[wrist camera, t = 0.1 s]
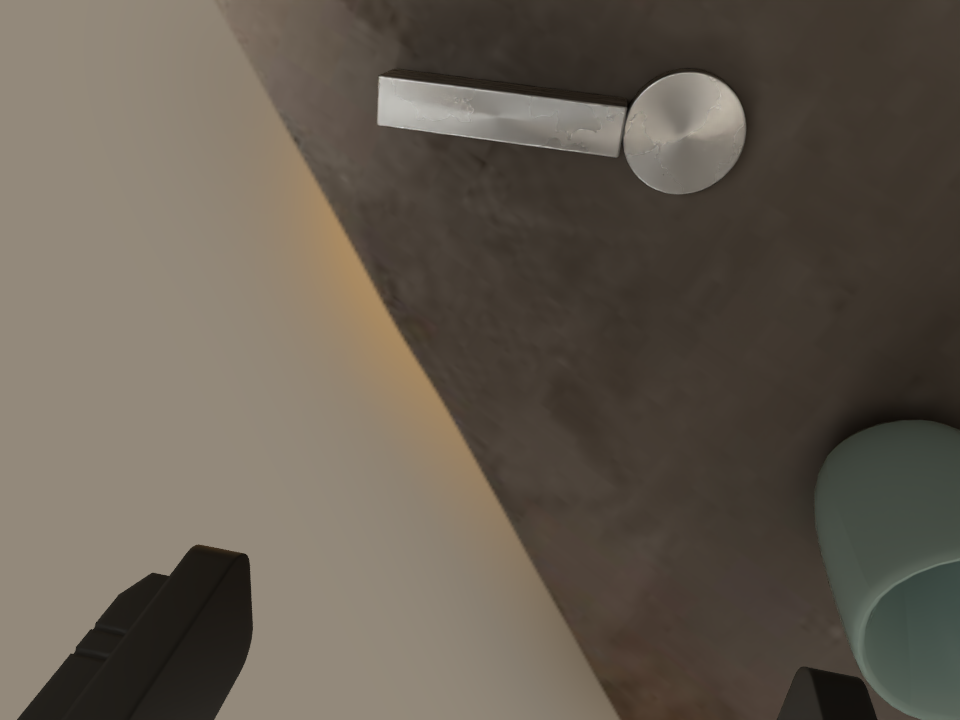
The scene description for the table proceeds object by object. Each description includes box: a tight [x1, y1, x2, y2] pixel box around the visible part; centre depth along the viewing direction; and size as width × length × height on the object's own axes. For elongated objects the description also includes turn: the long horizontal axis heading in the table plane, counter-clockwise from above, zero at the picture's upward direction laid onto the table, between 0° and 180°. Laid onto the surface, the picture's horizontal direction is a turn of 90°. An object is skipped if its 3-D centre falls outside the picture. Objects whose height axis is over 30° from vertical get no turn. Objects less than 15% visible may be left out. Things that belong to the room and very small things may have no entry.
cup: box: [814, 419, 960, 720], centre depth 30 cm, size 8×8×10 cm
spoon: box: [376, 68, 747, 195], centre depth 29 cm, size 13×4×2 cm, turn 84°
